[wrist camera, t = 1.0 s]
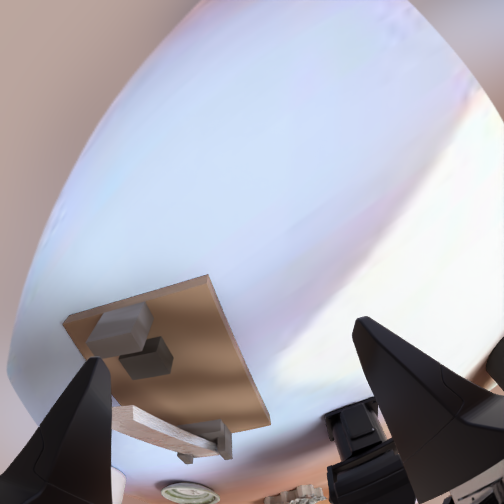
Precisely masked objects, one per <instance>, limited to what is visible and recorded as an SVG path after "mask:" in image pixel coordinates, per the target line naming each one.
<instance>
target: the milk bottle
mask: <svg viewBox="0 0 504 504" xmlns="http://www.w3.org/2000/svg"><path fill="white" fill-rule="evenodd" d="M111 483H112V503H113V504H122V500H123V494H124V489H125V483H126V477H125V475H124V474H123V473H122V472H120V471H119V470H117V469H116V468H114V467H112V466H111Z"/></svg>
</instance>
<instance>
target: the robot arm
mask: <svg viewBox="0 0 504 504" xmlns="http://www.w3.org/2000/svg"><path fill="white" fill-rule="evenodd" d="M352 339H353V342H354V345H355V348H356V351H357V354H358V357H359V360H360V363H361V366H362V369H363V372H364V374H365V377H366V379H367V381H368V383H369V386H370V388H371V390H372V392H373V394H374V397H372V398H370V399H367V400H365V401H362V402H359V403H357V404H354V405H351V406H349V407H346V408H343V409H340V410H337V411H334V412H331V413H328V414H326V415H325V420H326V425H327V429H328V434H329V438H330V441H334V440H335V443H336V446H337V449H338V452H339V455H340V459H341V462H340V463H337V464H335V465H333V466H332V465H331V466H328V467H327V471H328V473H327V479H328V486H329V502H330V503H331V504H415V501H416V498H417V501H418V503H419V504H422V503H424V502H426V501H428V500H431V499H433V498H435V497H437V496H440V495H442V494H444V493H446V492H448V491H450V494H451V495H450V496H448V497H447V498H446V499H444V502H443V504H504V396H502V395H497V394H494V393H492V392H490V391H488V390H486V389H484V388H482V387H480V386H478V385H476V384H474V383H472V382H470V381H469V380H467V379H465V378H463V377H461V376H459V375H458V374H456V373H455V372H453V371H451V370H450V369H448V368H447V367H445V366H444V365H442V364H441V365H440V363H439V362H437V361H436V360H434V359H433V358H431V357H430V356H428V355H427V354H425V353H424V352H422V351H421V350H419V349H418V348H416V347H414V346H413V345H411V344H410V343H408V342H407V341H405V340H404V339H402V338H401V337H399V336H398V335H396V334H394V333H393V332H391V331H390V330H388V329H387V328H385V327H384V326H382V325H381V324H379V323H378V322H376V321H374V320H373V319H371V318H370V317H368V316H364V317H360V318H357V319H356V321H355V325H354V329H353V332H352ZM378 406H379V408H380V410H381V412H382V415H383V417H384V419H385V422H386V424H387V426H388V428H389V431H390V433H391V436H392V438H390V439H387V437H386V435H385V433H384V431H383V429H382V426H381V424H380V422H379V420H378ZM111 431H112V399H111V374H110V371H109V369H108V367H107V366H106V364H105V363H104V361H103V359H102V358H101V357H99V356H96V357H90V358H88V360H87V361H86V362H85V364H84V365H83V366H82V367H81V369H80V370H79V371H78V373H77V374H76V375H75V377H74V378H73V379H72V381H71V382H70V383H69V385H68V386H67V388H66V389H65V390H64V392H63V393H62V394H61V396H60V397H59V399H58V400H57V401H56V403H55V404H54V406H53V407H52V408H51V410H50V411H49V413H48V414H47V416H46V417H45V418H44V420H43V421H42V423H41V424H40V427H38V429H37V430H36V431H35V433H34V434H33V436H32V437H31V439H30V440H29V442H28V443H27V444H26V446H25V447H24V448H23V449H22V451H21V452H20V453H19V454H18V456H17V457H16V458H15V459H14V461H13V462H12V463H11V464H10V466H9V467H8V468H7V469H6V471H5V472H4V473H3V474H1V475H0V504H113V503H112V483H111ZM398 453H399V454H398Z"/></svg>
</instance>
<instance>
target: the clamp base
mask: <svg viewBox="0 0 504 504" xmlns="http://www.w3.org/2000/svg"><path fill="white" fill-rule="evenodd" d="M63 326H64V328H65V329H66V331H67V332H68V334H69V336H70V337H71V339H72V340H73V342H74V343H75V345H76V346H77V348H78V349H79V351H80V352H81V354H82V355H83V357H84V358H85V360H86V361H87V360H88V358H90V357H96V356H99V357H101V358H102V359H103V361H104V363H105V364H106V366H107V367H108V369H109V371H110V374H111V394H112V395H113V397H114V398H115V399H116V400H117V401H118V403H119V404H120V405H121V406H129V405H134V406H136V407H138V408H139V409H141V410H143V411H145V412H147V413H149V414H151V415H153V416H155V417H157V418H159V419H161V420H163V421H165V422H167V423H169V424H171V425H173V426H175V427H178V428H180V429H182V430H184V431H187V432H189V433H191V434H193V435H196V436H198V437H201V438H203V439H205V440H208V441H210V442H213V443H218V453H219V454H220V455H221V456H222V457H223V458H224V460H229V459H232V433H235V432H241V431H246V430H251V429H256V428H260V427H265V426H269V425H271V421H270V415H269V413H268V410H267V408H266V406H265V404H264V402H263V400H262V398H261V396H260V393H259V391H258V389H257V387H256V385H255V383H254V380H253V378H252V376H251V374H250V372H249V369H248V367H247V365H246V363H245V361H244V358H243V356H242V354H241V351H240V349H239V347H238V345H237V342H236V340H235V338H234V335H233V333H232V331H231V328H230V326H229V324H228V321H227V319H226V317H225V314H224V312H223V309H222V307H221V305H220V302H219V300H218V297H217V295H216V293H215V290H214V288H213V285H212V283H211V280H210V278H209V275H208V274H207V275H204V276H201V277H198V278H194V279H191V280H188V281H184V282H181V283H178V284H174V285H171V286H167V287H164V288H161V289H157V290H154V291H151V292H147V293H144V294H141V295H137V296H134V297H130V298H127V299H124V300H120V301H117V302H113V303H110V304H107V305H103V306H100V307H96V308H93V309H89V310H86V311H83V312H79V313H76V314H72V315H69V316H68V318H67V319H66V320H65V321H64V323H63ZM177 456H178V457H179V458H180V459H181V460H182V461H183V462H184V463H185V464H193V457H192V456H190V455H186V454H182V453H179V452H178V454H177Z"/></svg>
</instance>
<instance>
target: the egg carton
mask: <svg viewBox="0 0 504 504" xmlns="http://www.w3.org/2000/svg"><path fill="white" fill-rule="evenodd" d="M280 494H281V495H279V496H274V497H270V496H268V497H265V500H264V504H315V503H317V502H318V501H320V500H321V501H322V500H325V499H326V497H324V495H323V492H322V488H320V487H319V488H315V489H314V487H313V485H311V484H310V485H305V486H303V485H301V486H298V487H297V489H296V490H293V491H284V492H281V493H280Z"/></svg>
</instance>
